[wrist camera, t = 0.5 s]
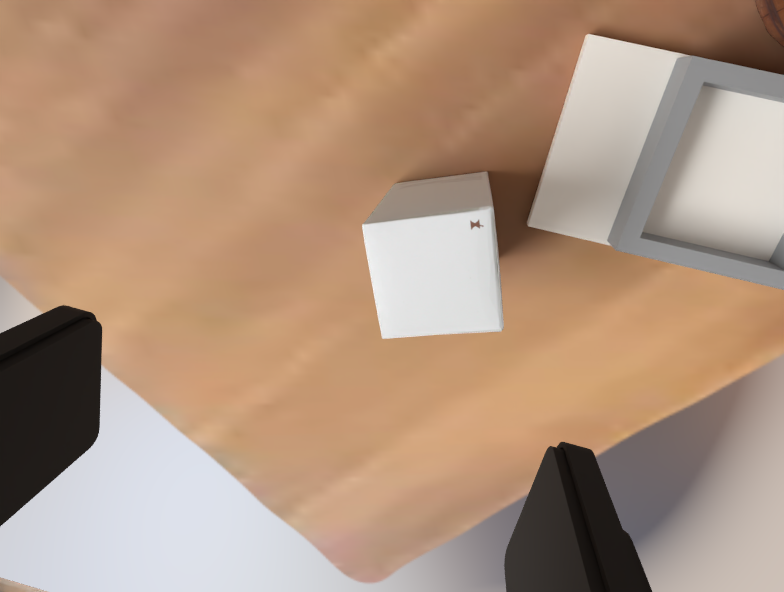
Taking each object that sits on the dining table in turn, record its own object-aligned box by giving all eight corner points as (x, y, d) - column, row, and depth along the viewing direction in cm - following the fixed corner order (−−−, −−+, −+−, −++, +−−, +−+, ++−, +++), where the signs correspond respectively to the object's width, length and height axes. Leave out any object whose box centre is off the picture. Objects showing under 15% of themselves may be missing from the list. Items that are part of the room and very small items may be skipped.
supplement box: (391, 181, 39) (358, 219, 28) (489, 169, 38) (498, 203, 26) (404, 272, 42) (378, 341, 30) (496, 264, 41) (506, 333, 29)
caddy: (585, 35, 34) (597, 29, 31) (894, 101, 33) (940, 102, 30) (526, 223, 39) (531, 234, 36) (792, 285, 38) (822, 303, 35)
